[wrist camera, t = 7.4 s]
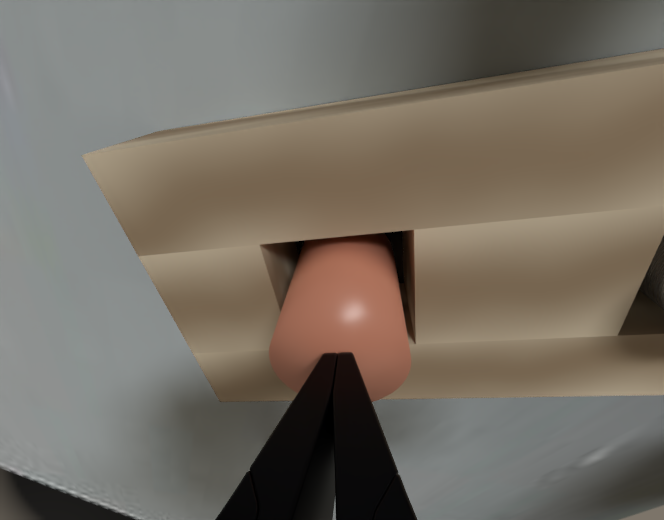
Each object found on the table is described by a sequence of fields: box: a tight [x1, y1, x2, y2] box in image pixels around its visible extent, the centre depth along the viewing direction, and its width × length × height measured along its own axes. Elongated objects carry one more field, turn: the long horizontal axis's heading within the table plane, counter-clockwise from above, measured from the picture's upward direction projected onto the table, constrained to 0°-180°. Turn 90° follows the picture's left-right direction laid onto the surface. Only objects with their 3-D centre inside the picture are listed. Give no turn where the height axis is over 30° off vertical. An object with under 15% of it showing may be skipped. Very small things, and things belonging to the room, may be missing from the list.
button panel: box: [82, 49, 664, 402], centre depth 12 cm, size 12×26×4 cm, turn 99°
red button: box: [269, 233, 411, 402], centre depth 11 cm, size 4×4×6 cm
